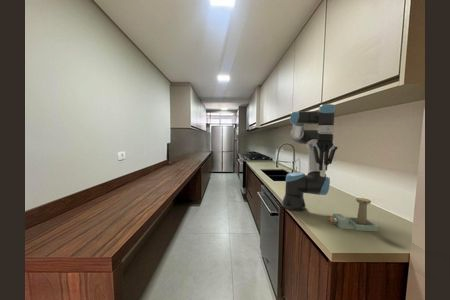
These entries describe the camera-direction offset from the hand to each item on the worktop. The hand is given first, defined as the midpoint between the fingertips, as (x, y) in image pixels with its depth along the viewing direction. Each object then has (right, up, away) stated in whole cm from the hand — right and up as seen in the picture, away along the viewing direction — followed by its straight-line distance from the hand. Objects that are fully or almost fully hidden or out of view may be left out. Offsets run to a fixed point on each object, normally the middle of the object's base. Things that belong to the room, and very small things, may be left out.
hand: (322, 176), depth 101 cm
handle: (+20, -27, -2) cm, 34 cm away
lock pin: (+7, -26, -1) cm, 27 cm away
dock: (+16, -27, -1) cm, 32 cm away
